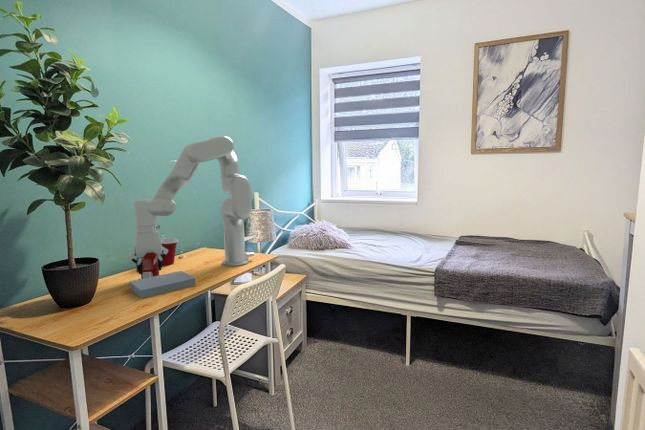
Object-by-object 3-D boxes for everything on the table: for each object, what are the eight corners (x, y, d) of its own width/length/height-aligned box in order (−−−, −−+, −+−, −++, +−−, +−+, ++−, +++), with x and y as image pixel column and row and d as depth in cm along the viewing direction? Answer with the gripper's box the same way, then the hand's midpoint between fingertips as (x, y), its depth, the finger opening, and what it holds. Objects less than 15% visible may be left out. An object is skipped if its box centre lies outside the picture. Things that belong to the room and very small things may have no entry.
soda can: (152, 281, 146) (150, 252, 145) (137, 280, 147) (135, 252, 146) (162, 276, 153) (160, 249, 151) (148, 276, 154) (146, 248, 152)
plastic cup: (172, 267, 167) (170, 242, 166) (150, 266, 169) (148, 241, 167) (184, 261, 178) (182, 237, 176) (164, 260, 179) (162, 237, 178)
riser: (181, 277, 151) (181, 270, 151) (196, 285, 141) (195, 278, 140) (129, 289, 138) (129, 281, 137) (141, 298, 127) (140, 290, 127)
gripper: (165, 225, 156) (167, 265, 158) (120, 231, 144) (124, 274, 147) (171, 227, 150) (174, 269, 153) (125, 233, 139) (129, 278, 141)
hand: (149, 271), depth 150 cm, fingers closed on soda can, 6 cm apart
